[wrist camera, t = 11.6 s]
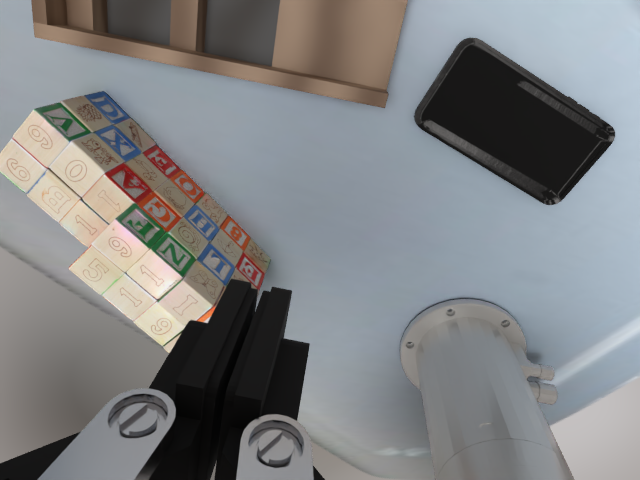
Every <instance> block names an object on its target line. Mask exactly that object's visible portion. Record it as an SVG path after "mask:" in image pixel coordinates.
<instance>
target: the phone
mask: <svg viewBox="0 0 640 480" xmlns="http://www.w3.org/2000/svg"><path fill="white" fill-rule="evenodd" d="M414 117H415V121H416V123H417V125H418V126H419V127H420V128H421V129H422V130H424V131H425V132H427V133H429V134H430V135H432V136H434V137H435V138H437V139H439V140H440V141H442V142H443V143H445V144H447V145H448V146H450V147H452V148H453V149H455V150H457V151H458V152H460V153H462V154H463V155H465V156H466V157H468V158H470V159H471V160H473V161H475V162H476V163H478V164H480V165H481V166H483V167H485V168H486V169H488V170H489V171H491V172H493V173H494V174H496V175H498V176H499V177H501V178H503V179H504V180H506V181H508V182H509V183H511V184H512V185H514V186H516V187H517V188H519V189H521V190H522V191H524V192H526V193H527V194H529V195H531V196H532V197H534V198H535V199H537V200H539V201H540V202H542V203H544V204H546V205H553V204H557V203H559V202H560V201H561V200H563V199H564V198H565V196H566V195H567V194H568V193H569V192H570V191H571V190H572V188H573V187H574V186H575V185H576V184H577V183H578V182H579V180H580V179H581V178H582V177H583V176H584V175H585V174H586V172H587V171H588V170H589V169H590V168H591V167H592V166H593V165H594V163H595V162H596V161H597V160H598V159H599V158H600V157H601V155H602V154H603V153H604V152H605V151H606V150H607V149H608V147H609V146H610V145H611V144H612V142H613V141H614V138H615V131H614V129H613V127H612V126H611V125H609V124H608V123H606V122H605V121H603V120H602V119H600V117H598V116H597V115H595V114H593V113H591V112H590V111H589V110H588V109H586V108H585V107H583V106H582V105H580V104H577V102H576V101H575V100H573V99H572V98H570V97H567V96H565V95H564V94H562V93H561V92H559V91H558V90H556V89H555V88H553V87H551V86H550V85H548V84H547V83H545V82H544V81H542V80H541V79H539V78H538V77H536V76H535V75H533V74H532V73H530V72H529V71H527V70H526V69H524V68H523V67H521V66H520V65H518V64H516V63H515V62H513V61H512V60H510V59H509V58H507V57H506V56H504V55H503V54H501V53H500V52H498V51H497V50H495V49H494V48H492V47H491V46H489V45H488V44H486V43H484V42H483V41H481V40H479V39H477V38H467V39H464V40H463V41H461V42H460V43H459V44H458V45H457V47H456V48H455V50H454V51H453V53H452V54H451V56H450V58H449V59H448V61H447V62H446V64H445V65H444V67H443V68H442V70H441V71H440V73H439V75H438V76H437V78H436V79H435V81H434V82H433V84H432V85H431V87H430V88H429V90H428V92H427V93H426V95H425V96H424V98H423V99H422V101H421V102H420V104H419V106H418V107H417V109H416V111H415V116H414Z"/></svg>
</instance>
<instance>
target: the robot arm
mask: <svg viewBox="0 0 640 480" xmlns="http://www.w3.org/2000/svg"><path fill="white" fill-rule="evenodd" d="M257 294H258V289H254V288H251V282H246V281H241V280H236V279H231V280H230V281H229V283H228V285H227V287H226V289H225V291H224V293H223V294H222V296H221V298H220V300H219V302H218V304H217V306H216V308H215V310H214V312H213V313H212V315H211V317H210V319H209V321H208V323H205V322H200V321H195V320H190V321H189V322H188V323H187V325H186V326H185V328H184V330H183V331H182V333H181V335H180V336H179V338H178V340H177V342H176V343H175V345H174V347H173V348H172V350H171V352H170V353H169V355H168V357H167V358H166V360H165V362H164V363H163V365H162V367H161V369H160V370H159V372H158V373H157V375H156V377H155V379H154V381H153V382H152V384H151V385H150V387H149V388H142V389H134V390H130V391H126V392H124V393H122V394H120V395H118V396H116V397H114V398H113V399H112V400H111V401H109V402H108V403H107V404H106V405H105V406H104V407H103V408H102V409H101V411H100V412H99V413H98V414H97V415H96V416H95V417H94V418H93V419H92V420H91V422H90V423H89V424H88V425H87V426H86V427H85V428H84V429H83V431H81V432H79V433H76V434H74V435H71V436H69V437H66V438H64V439H61V440H58V441H56V442H53V443H51V444H48V445H46V446H43V447H41V448H38V449H36V450H33V451H31V452H28V453H26V454H23V455H21V456H18V457H15V458H13V459H10V460H8V461H5V462H3V463H0V480H210V478H211V475H212V472H213V469H214V466H215V463H216V460H217V463H216V472H215V480H325V479H324V478H323V477H322V476H321V475H320V473H319V472H318V471H317V470H316V468H315V467H314V466H313V459H312V445H311V440H310V436H309V434H308V432H307V431H306V429H305V428H304V427H303V426H302V425H301V424H300V423H299V422H298V421H297V418H298V412H299V406H300V400H301V394H302V388H303V381H304V375H305V369H306V363H307V357H308V351H309V345H310V344H309V343H304V342H299V341H294V340H289V339H284V333H285V327H286V322H287V316H288V311H289V305H290V300H291V294H292V291H291V290H286V289H281V288H276V287H272V289H271V292H269V291H263V293H262V296H261V298H260V301H259V304H258V306H257V309H256V312H255V308H256V301H257ZM526 348H527V346H526V341H525V337H524V335H523V332H522V330H521V328H520V326H519V325H518V323H517V322H516V320H515V319H514V318H513V317H512V316H511V315H510V314H509V313H508V312H507V311H505V310H503V309H502V308H500V307H499V306H496V305H494V304H491V303H489V302H486V301H481V300H476V299H458V300H450V301H446V302H443V303H439V304H437V305H435V306H432V307H430V308H428V309H426V310H425V311H424V312H422V313H421V314H419V315H418V316H417V317H416V318H415V319H414V320H413V321H412V322H411V323H410V324H409V326H408V327H407V329H406V330H405V332H404V334H403V337H402V340H401V345H400V358H401V363H402V368H403V370H404V372H405V374H406V376H407V377H408V379H409V380H410V381H411V382H412V384H413V385H415V386H416V387H417V388H418V389H419V390H421V394H422V401H423V407H424V413H425V419H426V425H427V431H428V437H429V443H430V449H431V455H432V461H433V468H434V474H435V480H574V478H573V476H572V474H571V471H570V469H569V467H568V465H567V463H566V461H565V459H564V457H563V455H562V452H561V450H560V448H559V446H558V444H557V442H556V440H555V438H554V435H553V433H552V431H551V429H550V427H549V425H548V423H547V421H546V419H545V416H544V414H543V412H542V410H541V408H540V406H539V404H538V402H541V403H546V404H551V405H552V404H555V402H556V400H557V389H556V387H555V386H554V385H550V384H545V383H540V382H531V381H528V380H527V378H528V377H529V376H533V377H537V378H540V379H544V380H552V379H553V377H554V369H553V367H552V366H547V365H542V364H533V363H531V362H530V360H528V359H527V357H526Z"/></svg>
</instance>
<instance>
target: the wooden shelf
mask: <svg viewBox="0 0 640 480" xmlns="http://www.w3.org/2000/svg"><path fill="white" fill-rule="evenodd" d="M31 1H32V12H33V23H34V35H35V37H36V38H41V39H46V40H51V41H56V42H61V43H66V44H71V45H76V46H81V47H86V48H91V49H96V50H101V51H106V52H111V53H115V54H120V55H125V56H130V57H135V58H140V59H145V60H150V61H155V62H160V63H165V64H170V65H175V66H180V67H185V68H190V69H194V70H199V71H204V72H209V73H214V74H219V75H224V76H229V77H234V78H239V79H244V80H249V81H254V82H259V83H264V84H269V85H273V86H278V87H283V88H288V89H293V90H298V91H303V92H308V93H313V94H318V95H323V96H328V97H333V98H338V99H343V100H347V101H352V102H357V103H362V104H367V105H372V106H377V107H382V108H385V106H386V101H387V97H388V92H387V86H388V82H389V77H390V73H391V69H392V65H393V60H394V56H395V52H396V48H397V43H398V39H399V35H400V31H401V27H402V22H403V18H404V14H405V10H406V5H407V1H408V0H31Z"/></svg>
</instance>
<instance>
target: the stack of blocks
mask: <svg viewBox="0 0 640 480" xmlns="http://www.w3.org/2000/svg"><path fill="white" fill-rule="evenodd" d="M0 173H2V174H3V175H4V176H5V177H6V178H8V179H9V180H10V181H11V182H12V183H13V184H14V185H16V186H17V187H18V188H19V189H20V190H22V191H23V192H25V193H27V196H28V197H29V198H30V199H31V200H32V201H33V202H35V203H36V204H37V205H38V206H39V207H40V208H41V209H43V210H44V211H45V212H46V213H47V214H49V215H50V216H51V217H52V218H53V219H54V220H56V221H57V222H59V223H60V225H61V226H62V227H63V228H65V229H66V230H67V231H68V232H69V233H70V234H72V235H73V236H74V237H75V238H77V239H78V240H79V241H80V242H81V243H83V244H84V245H85V246H87V247H89V248H88V249H87V250H86V251H85V252H84V253H83V254H82V255H81V256H80V257H79V258H78V259H77V260H76V261H75V262H74V263H73V264H72V265H71V266H70V267H69V270H71V271H72V272H73V273H74V274H75V275H76V276H78V277H79V278H80V279H81V280H82V281H84V282H85V283H86V284H87V285H89V286H90V287H91V288H92V289H93V290H95V291H96V292H97V293H98V294H100V295H102V296H103V297H104V298H105V299H106V300H107V301H109V302H110V303H111V304H112V305H113V306H115V307H116V308H117V309H119V310H120V311H121V312H122V313H123V314H124V315H126V316H127V317H128V318H130V319H131V320H133V322H134V323H135V324H136V325H137V326H138V327H140V328H141V329H142V330H143V331H144V332H146V333H147V334H148V335H149V336H150V337H152V338H153V339H154V340H155V341H156V342H158V343H159V344H160V345H162V346H164V349H165V350H166V351H167V352H168V353H170V352H171V350H172V348H173V347H174V345H175V343H176V342H177V340H178V338H179V336H180V335H181V333H182V331H183V330H184V328H185V326H186V325H187V323H188V322H189V321H190V320H195V321H200V322H205V323H208V321H209V319H210V317H211V315H212V313H213V312H214V310H215V308H216V306H217V304H218V302H219V300H220V298H221V296H222V294H223V293H224V291H225V289H226V287H227V285H228V283H229V281H230V280H231V279H236V280H241V281H246V282H251V288H254V289H258V294H259V290H260V287H261V284H262V281H263V278H264V274H265V273H266V271H267V269H268V266H269V263H270V260H271V259H270V258H269V257H268V256H267V255H266V254H265V253H264V252H263V251H262V250H261V249H260V248H259V247H258V246H257V245H256V244H255V243H254V242H253V241H252V240H251V239H250V236H249V235H248V234H247V233H246V232H245V231H244V230H243V229H242V228H241V227H240V226H239V225H238V224H237V223H236V222H235V221H234V220H233V219H232V218H231V217H230V216H228V214H227V213H226V212H225V211H224V210H223V209H222V208H221V207H220V206H219V205H218V204H217V203H216V202H215V201H214V200H213V199H212V198H211V197H210V196H209V195H208V194H207V193H205V192H203V191H202V189H201V188H200V187H198V185H196V184H195V183H194V181H193V180H192V179H191V178H190V177H189V176H188V175H187V174H186V173H185V172H184V171H183V170H181V169H180V168H179V167H178V166H177V165H176V164H175V163H174V162H173V161H172V160H171V159H170V158H169V157H168V156H167V155H166V154H165V153H164V152H163V151H162V150H161V149H160V148H159V147H158V146H156V143H155V142H154V141H153V140H152V139H151V138H150V137H149V136H148V135H147V134H146V133H145V132H144V131H143V130H142V129H141V128H140V127H139V126H138V125H137V124H136V122H135V121H133V120H132V119H131V118H130V117H129V116H128V115H127V114H126V113H125V112H124V111H123V110H122V109H121V108H120V107H119V106H118V105H117V104H116V103H115V102H114V101H113V100H112V99H111V98H110V97H109V96H108V95H107V94H106V93H105V92H104V91H102V92H98V93H93V94H89V95H85V96H79V97H75V98H71V99H67V100H63V101H61V102H60V103H55V104H51V105H47V106H44V107H40V108H36V109H34V110H33V111H32V112H31V114H30V115H29V116H28V117H27V119H26V120H25V121H24V123H23V124H22V125H21V126H20V128H19V129H18V130H17V131H16V133H15V134H14V135H13V138H12V139H11V140H10V142H9V143H8V144H7V145H6V146H5V148H4V149H3V150H2V152H1V153H0ZM258 294H257V297H258Z"/></svg>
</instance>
